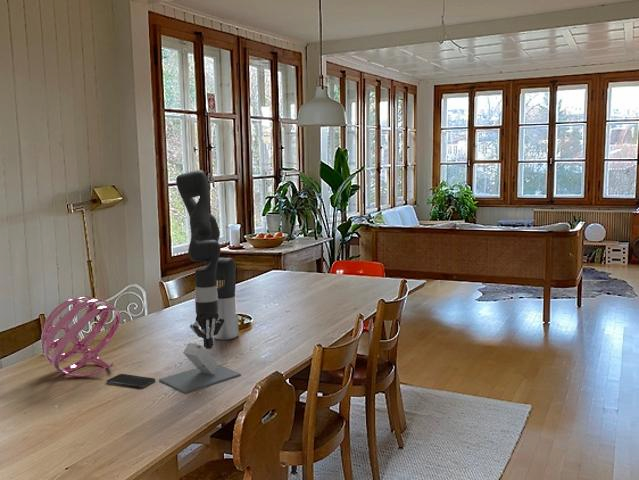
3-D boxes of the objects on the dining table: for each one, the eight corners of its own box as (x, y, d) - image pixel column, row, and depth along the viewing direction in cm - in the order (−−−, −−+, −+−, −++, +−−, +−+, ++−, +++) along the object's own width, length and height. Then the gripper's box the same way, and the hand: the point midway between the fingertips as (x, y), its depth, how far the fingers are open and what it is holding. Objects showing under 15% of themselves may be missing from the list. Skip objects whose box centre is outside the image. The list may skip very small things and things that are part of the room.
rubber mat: (213, 364, 219) (213, 362, 219) (240, 375, 208) (240, 373, 208) (159, 380, 204) (159, 379, 204) (185, 393, 193) (184, 391, 193)
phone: (141, 386, 197) (104, 381, 203) (142, 390, 197) (105, 384, 203) (156, 378, 204) (120, 373, 210) (157, 381, 204) (121, 376, 210)
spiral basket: (150, 315, 213) (96, 269, 219) (87, 356, 191) (28, 303, 197) (134, 364, 229) (83, 320, 235) (74, 407, 207) (19, 357, 213)
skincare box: (200, 371, 210) (181, 353, 202) (206, 360, 213) (188, 342, 205) (213, 375, 207) (194, 356, 199) (219, 363, 209) (201, 344, 201)
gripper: (216, 294, 213) (218, 342, 215) (183, 300, 204) (185, 350, 206) (229, 297, 208) (230, 346, 210) (196, 303, 199) (198, 355, 201)
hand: (208, 348), depth 208 cm, fingers closed
